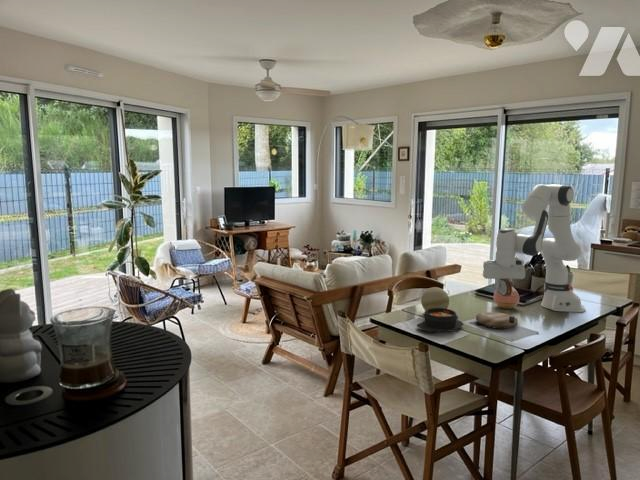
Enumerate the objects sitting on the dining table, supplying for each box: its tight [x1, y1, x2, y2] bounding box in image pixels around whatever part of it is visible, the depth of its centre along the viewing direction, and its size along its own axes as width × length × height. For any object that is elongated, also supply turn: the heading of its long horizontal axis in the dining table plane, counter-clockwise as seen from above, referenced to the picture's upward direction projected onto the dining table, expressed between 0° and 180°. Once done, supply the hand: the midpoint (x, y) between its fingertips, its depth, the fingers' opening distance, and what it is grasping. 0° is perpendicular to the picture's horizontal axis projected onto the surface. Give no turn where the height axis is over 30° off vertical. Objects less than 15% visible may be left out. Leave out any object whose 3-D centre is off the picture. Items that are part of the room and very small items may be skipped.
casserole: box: [416, 308, 464, 333], centre depth 241 cm, size 25×19×8 cm
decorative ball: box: [420, 286, 450, 311], centre depth 262 cm, size 15×15×15 cm
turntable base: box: [487, 325, 508, 329], centre depth 247 cm, size 14×14×2 cm
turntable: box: [475, 311, 518, 328], centre depth 247 cm, size 20×20×4 cm
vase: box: [493, 286, 520, 310], centre depth 273 cm, size 14×14×18 cm
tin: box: [494, 279, 513, 297], centre depth 243 cm, size 15×3×8 cm, turn 3°
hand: (502, 287), depth 243 cm, fingers closed on tin, 3 cm apart
